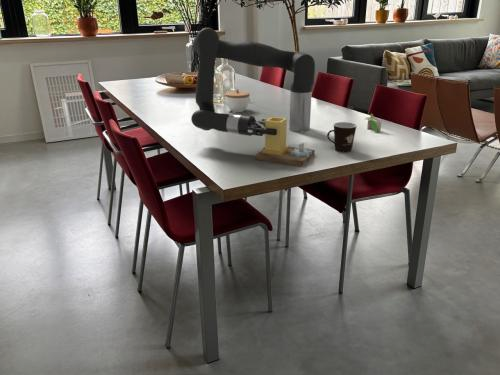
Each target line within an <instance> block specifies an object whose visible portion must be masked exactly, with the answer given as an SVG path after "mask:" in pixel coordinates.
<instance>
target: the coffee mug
mask: <svg viewBox="0 0 500 375" xmlns="http://www.w3.org/2000/svg"><path fill="white" fill-rule="evenodd" d="M356 131H357V124H356V123H354V122H353V123H352V122H348V121H347V122H346V121H340V122H334V123H333V129H330V130H329V131H328V132H327V135H326V137H327V140H329V142H331V143H332V144H334V151H336V152H338V153H350V152H352V149H353V144H354V141H355V140H354V139H355V135H356ZM331 133H333V137H334V140H332V139H331V138H330V134H331Z"/></svg>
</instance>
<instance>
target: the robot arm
mask: <svg viewBox="0 0 500 375" xmlns="http://www.w3.org/2000/svg"><path fill="white" fill-rule="evenodd" d="M192 46H193V47H192V48H193V50H194V51H195V53H196V54H197V55H199V66H198V72H197V75H196V76H197V77H196V84H195V85H196V86H195V103H196V105H197V106H198V108H199V110H196V111H194V112H193V113H192V115H191V123H192V124H193V126H194V127H196V128H198V129H201V130H203V131H211V130H216V131H218V132H221V133H231V134H234V135H241V136H248V137H249V136H258V137H259V136H260V137H263V136H265V135H266V134H268V135H277V129H272V128H267V129H266V127H265V120H267V118H266V119H264V118H262V119H261V120H258V121H257V120H256V118H255V117H254V115H247V114H239V113H238V114H237V113H236V114H235V113H234V114H233V113H232V114H231V113H220V112H216V111H215V104H214V93H215V92H214V90H215V89H214V88H215V68H216V67H215V66H216V60H217V59H225V60H228V61H231V62H232V61H233V62H237V63H242V64H246V65H250V66H256V67H262V68H264V67H265V68H279V69H283V70H286V71H289V72H292V73H293V82H292V83H291V84H290V96H289V98H290V100H289V103H290V104H289V127H288V128H289V131H292V132H296V133H299V132H301V133H302V132H308V131H310V128H311V112H312V91H313V86H314V83H315V75H316V74H315V72H316V64H315V63H316V62H315V59H314V58H313V56H312V55H311V54H308V53H305V52H300V51H289V50H287V51H286V50H281V49H279V48H276V47H274V46H271V45H267V44H265V43H261V42H256V41H250V40H240V41H239V40H238V41H226V40H222V39H220V37H219V34H218V33H217V31H216V30H214V29H213V28H212V27H204V28H202V29H201V30H200V31H199V32H198V33H197V34H196V36H195V38H194V40H193V43H192Z"/></svg>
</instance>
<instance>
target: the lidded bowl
mask: <svg viewBox="0 0 500 375" xmlns="http://www.w3.org/2000/svg"><path fill="white" fill-rule="evenodd" d="M224 95H225V103H226V106H227V108H228V109H229V110H230V112H234V113H241V112H245V110H246V109H247V108H248V107H249V104H250V95H251V94H250V92H249V91H245V90H244V91H243V90H239V89H238V88H237V89H235V90H233V91H232V90H230V91H227V92H225V94H224Z"/></svg>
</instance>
